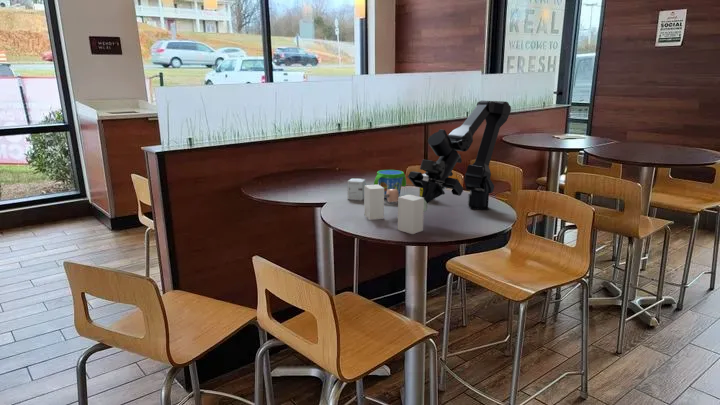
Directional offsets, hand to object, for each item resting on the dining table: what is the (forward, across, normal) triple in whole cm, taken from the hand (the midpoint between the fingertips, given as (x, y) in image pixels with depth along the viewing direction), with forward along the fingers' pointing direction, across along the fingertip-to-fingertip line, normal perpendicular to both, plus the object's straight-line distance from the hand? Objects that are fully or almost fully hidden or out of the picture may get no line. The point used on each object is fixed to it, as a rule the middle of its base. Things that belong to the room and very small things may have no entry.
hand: (422, 204), depth 154 cm
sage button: (+4, 0, -1) cm, 4 cm away
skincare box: (-2, -41, +13) cm, 43 cm away
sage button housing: (+9, 0, +1) cm, 9 cm away
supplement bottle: (-15, -21, +26) cm, 37 cm away
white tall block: (+7, -18, +3) cm, 20 cm away
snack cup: (-9, -33, +20) cm, 40 cm away
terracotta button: (+1, -16, +2) cm, 16 cm away
